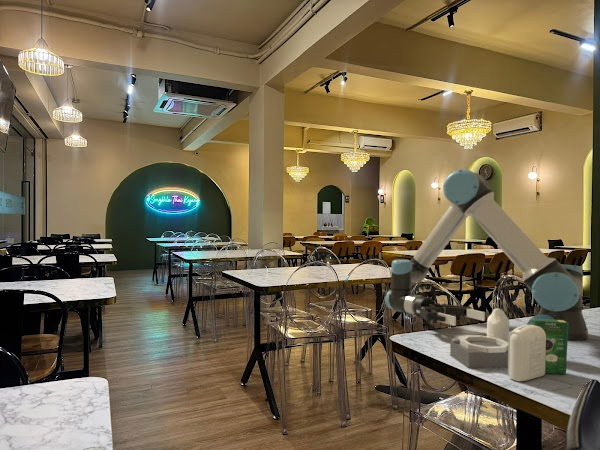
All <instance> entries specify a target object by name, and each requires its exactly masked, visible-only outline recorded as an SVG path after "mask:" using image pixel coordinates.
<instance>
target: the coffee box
mask: <svg viewBox="0 0 600 450" xmlns="http://www.w3.org/2000/svg"><path fill="white" fill-rule="evenodd" d="M529 320H530V325H534V326H539V327H541V328H542V329H543V330H544V331H545V334H546V354H545V374H551V375H552V374H553V375H554V374H555V375H567V358H568V341H569V340H568V322H566V321H564V320H551V319H534V318H532V317H530V319H529Z"/></svg>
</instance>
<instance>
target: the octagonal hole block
mask: <svg viewBox="0 0 600 450" xmlns="http://www.w3.org/2000/svg"><path fill="white" fill-rule="evenodd" d="M449 347H450V349H449V350H450V352H449V353H450V357H452V358H453V359H454V360H456V361H458V362H459V363H460V364H462V365H463V366H465V367H466V368H468V369H483V368H486V369H487V368H489V369H490V368H508V342H506V341H504V340H502V339H499V338H494V337H488V336H487V335H479V334H478V335H465V336H464V335H463V337H461V338H456V337H455V338H451V341H450V345H449Z"/></svg>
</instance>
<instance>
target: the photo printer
mask: <svg viewBox="0 0 600 450" xmlns="http://www.w3.org/2000/svg"><path fill="white" fill-rule="evenodd" d="M545 354H546V334H545V331H544V330H543V329H542V328H541V327H539V326H534V325H527V324H524V325H521V326H520V325H519V326H518V327H516V328H514V329H512V331H511V332H509V342H508V367H507V376H508V377H509V378H510V379H511V380H513V381H516V382H524V381H530V380H532V379H536V378H540V377H543V376H545V374H546V373H545Z"/></svg>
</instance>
